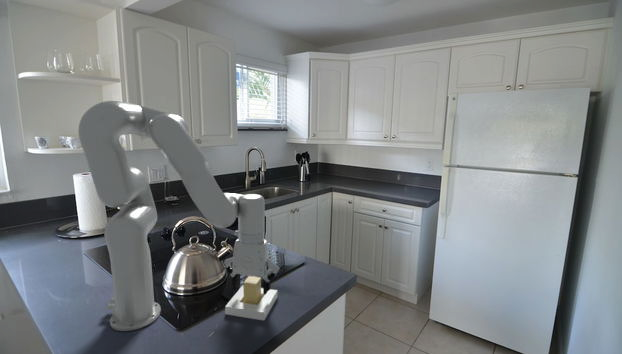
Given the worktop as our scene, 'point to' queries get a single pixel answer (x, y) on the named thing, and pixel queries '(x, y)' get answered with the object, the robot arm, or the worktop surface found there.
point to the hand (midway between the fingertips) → (251, 289)
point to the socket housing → (251, 305)
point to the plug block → (252, 290)
